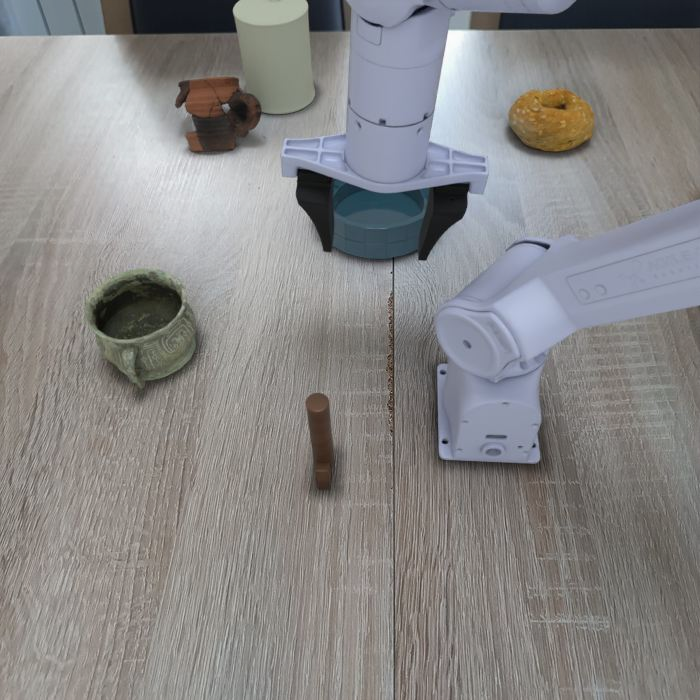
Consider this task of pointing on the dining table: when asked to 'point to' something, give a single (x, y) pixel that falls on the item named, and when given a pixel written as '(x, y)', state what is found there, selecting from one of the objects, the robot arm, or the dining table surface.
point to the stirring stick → (321, 438)
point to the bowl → (377, 221)
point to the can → (276, 53)
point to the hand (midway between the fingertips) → (375, 247)
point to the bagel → (551, 119)
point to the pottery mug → (217, 112)
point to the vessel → (143, 323)
